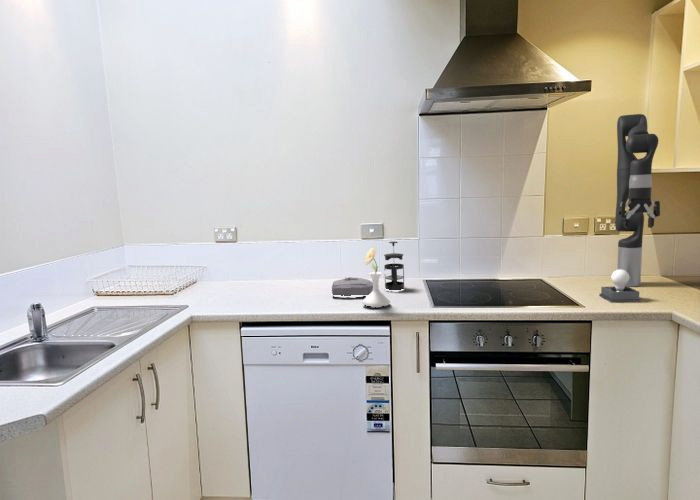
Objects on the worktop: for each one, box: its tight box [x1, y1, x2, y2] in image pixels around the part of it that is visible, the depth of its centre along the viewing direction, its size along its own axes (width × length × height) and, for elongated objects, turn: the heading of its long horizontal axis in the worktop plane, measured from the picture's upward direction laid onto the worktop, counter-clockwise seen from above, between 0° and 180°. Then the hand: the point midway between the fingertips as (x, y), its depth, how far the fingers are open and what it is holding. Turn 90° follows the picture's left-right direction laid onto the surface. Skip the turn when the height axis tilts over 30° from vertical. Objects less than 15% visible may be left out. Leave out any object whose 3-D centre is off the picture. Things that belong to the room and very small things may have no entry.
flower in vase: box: [362, 246, 391, 308], centre depth 191 cm, size 13×11×25 cm
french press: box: [383, 241, 405, 290], centre depth 220 cm, size 12×9×23 cm
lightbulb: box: [610, 269, 630, 292], centre depth 187 cm, size 6×6×11 cm
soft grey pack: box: [331, 277, 373, 296], centre depth 213 cm, size 15×8×20 cm
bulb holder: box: [598, 286, 642, 304], centre depth 188 cm, size 11×11×4 cm
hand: (638, 228), depth 186 cm, fingers open, 8 cm apart
